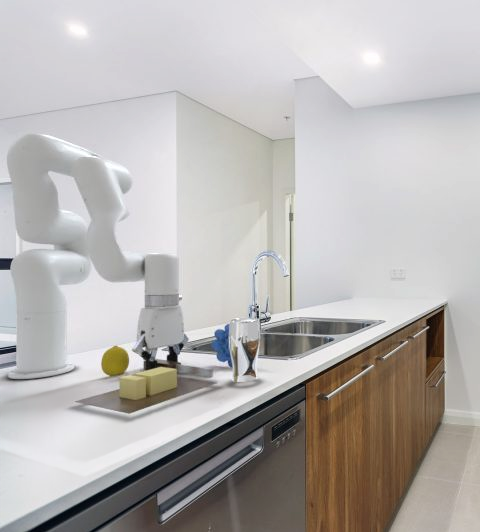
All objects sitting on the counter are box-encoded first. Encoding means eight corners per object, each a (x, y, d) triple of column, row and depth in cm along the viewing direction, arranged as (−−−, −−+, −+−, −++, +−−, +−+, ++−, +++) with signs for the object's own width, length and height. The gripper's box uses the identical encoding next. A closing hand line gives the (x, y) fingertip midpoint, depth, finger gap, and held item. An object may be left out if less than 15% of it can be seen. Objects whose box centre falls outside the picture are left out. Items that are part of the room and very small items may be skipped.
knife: (143, 373, 101) (143, 360, 101) (153, 370, 104) (153, 358, 104) (207, 383, 93) (207, 369, 93) (217, 380, 96) (217, 366, 96)
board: (74, 407, 77) (74, 401, 77) (168, 379, 96) (168, 374, 96) (129, 420, 71) (129, 413, 71) (218, 387, 90) (218, 382, 90)
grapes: (208, 373, 101) (208, 326, 101) (212, 367, 108) (212, 323, 107) (257, 370, 105) (257, 324, 105) (257, 364, 111) (257, 321, 111)
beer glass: (223, 383, 93) (223, 319, 93) (251, 377, 98) (251, 316, 98) (236, 389, 88) (236, 322, 88) (265, 383, 94) (265, 319, 93)
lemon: (114, 382, 94) (114, 348, 94) (95, 380, 95) (95, 347, 95) (134, 375, 99) (134, 343, 99) (116, 374, 100) (116, 342, 100)
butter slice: (119, 397, 80) (119, 377, 80) (129, 394, 82) (129, 374, 82) (136, 400, 78) (136, 380, 78) (145, 397, 80) (145, 377, 80)
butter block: (134, 392, 83) (134, 373, 83) (160, 384, 88) (160, 366, 88) (150, 395, 81) (150, 376, 81) (177, 387, 86) (177, 368, 86)
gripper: (181, 298, 110) (181, 364, 110) (117, 304, 94) (117, 380, 94) (201, 299, 107) (201, 366, 107) (139, 305, 91) (139, 384, 92)
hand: (162, 372), depth 101 cm, fingers open, 4 cm apart
